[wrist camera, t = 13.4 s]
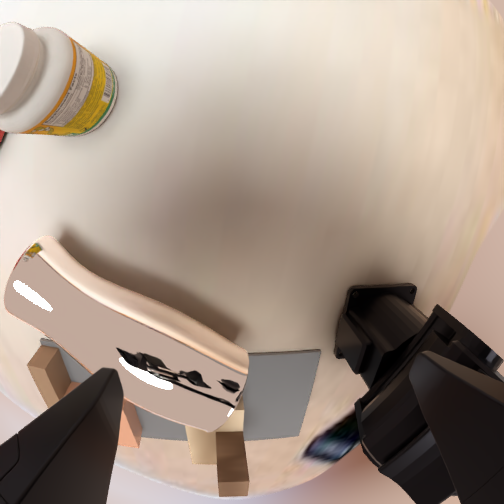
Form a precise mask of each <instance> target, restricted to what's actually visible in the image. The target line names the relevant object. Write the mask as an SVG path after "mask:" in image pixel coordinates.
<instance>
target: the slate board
mask: <svg viewBox="0 0 504 504" xmlns="http://www.w3.org/2000/svg"><path fill="white" fill-rule="evenodd" d="M40 342H41V346H40V348H39V349H38V350H37V352H36V353H35V355H34V356H33V357H32V359H31V360H30V361H29V363H28V364H27V366H28V368H29V371H30V373H31V375H32V377H33V379H34V381H35V383H36V385H37V387H38V389H39V391H40V393H41V395H42V397H43V399H44V401H45V403H46V404H47V406H48V408H50V407H51V406H53V405H54V404H55V403H56V402H58V401H59V400H60V399H62V398H63V397H64V395H65V393H66V391H67V389H68V387H69V385H70V383H71V381H72V382H78V383H82V382H84V381H85V380H86V379H88V378H89V377H90V376H91V374H90V373H89V372H88V371H87V370H86V369H84V368H83V367H82V366H81V365H80V364H79V363H78V362H77V361H75V360H74V359H73V358H72V357H71V356H70V355H69V354H68V353H66V352H65V351H64V350H63V349H62V348H61V347H60V346H58V345H57V344H56V343H55V342H53V341H52V340H47V339H42V338H41V340H40ZM320 354H321V351H320V350H308V351H294V352H277V353H251V354H248V356H249V372H248V378H247V382H246V385H245V388H244V391H243V394H242V396H243V404H244V422H243V436H244V441H249V440H265V439H276V438H286V437H294V436H299V433H300V429H301V426H302V423H303V419H304V416H305V412H306V409H307V405H308V402H309V398H310V394H311V391H312V387H313V383H314V379H315V375H316V371H317V367H318V363H319V358H320ZM134 406H135V409H136V412H137V415H138V418H139V421H140V424H141V426H142V434H141V437H146V438H156V439H167V440H182V441H188V439H187V434H186V428H185V425H182V424H179V423H176V422H173V421H170V420H167V419H164V418H162V417H159V416H157V415H155V414H152V413H150V412H148V411H145V410H144V409H142V408H140V407H138V406H136V405H134Z"/></svg>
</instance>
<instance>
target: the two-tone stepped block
mask: <svg viewBox="0 0 504 504" xmlns="http://www.w3.org/2000/svg"><path fill="white" fill-rule="evenodd" d="M243 422H244V404H243V396H241V398H240V401H239V403H238V405H237V406H236V408H235V410H234V411H233V413H232V414H231V416H230V417H229V418H228V420H227V421H226V422H225V423H224V424H223V425H222V426H221V427H220V428H218V429H217V430H215V431H213V432H204V431H202V430H199V429H196V428H192V427H189V426H185V428H186V434H187V439H188V444H189V449H190V454H191V459H192V463H193V464H217V474H218V488H219V497H227V496H247V495H248V488H249V474H248V467H247V459H246V452H245V444H244V436H243Z"/></svg>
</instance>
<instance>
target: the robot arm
mask: <svg viewBox="0 0 504 504" xmlns="http://www.w3.org/2000/svg"><path fill="white" fill-rule="evenodd" d="M411 289H412V290H411ZM410 290H411V291H410ZM356 291H357V292H356ZM416 291H417V287H416V286H415V285H413V284H395V285H373V286H353V287H351V288H350V289H349V290H348V293H347V298H346V303H345V308H344V313H343V314H342V315H341V318H340V323H339V327H338V332H337V336H336V340H335V342H336V347H335V351H334V354H335V356H336V358H338V359H343V358H345V359H346V360H347V362H348V364H349V366H350V367H351V369H352V371H353V372H354V373H355V374H360V375H361V377H362V378H363V380H364V382H365V383H366V385H367V387H368V388H369V391H368V392H367V393H366V394H365V395H364V396H363V397H362V398H359V399H358V400H357V401H356V402H355V403H354V405H355V411H356V417H357V423H358V429H359V435H360V442H361V446H362V449H363V452H364V454H365V455H366V456H367V457H368V458H369V460H370V461H371V462H372V463H373V464H374V465H375V466H377V467H378V471H379V472H380V473H382V474H383V475H385V476H387V477H389V478H391V479H392V480H393V481H394V482H396V483H397V484H398V485H399V486H401V487H402V489H403V490H404V491H405V492H406V493H407V494H408V495H409V496H410V497H411V499H412V500H413V501H414V502H415V503H416V504H440V503H442V502H443V501H444V500H446V499H447V498H449V497H450V496H458V498H459V500H460V503H461V504H504V377H503V376H502V375H501V374H500V373H499V372H498V371H497V369H498V368H499V367H500V365H501V364H502V363H503V359H502V358H501V357H500V356H498V355H497V354H496V353H495V352H494V351H493V350H492V349H491V348H490V347H489V346H487V345H486V344H485V343H484V342H483V341H482V340H481V339H479V338H478V337H477V336H476V335H475V334H474V333H472V332H471V331H470V330H469V329H467V328H466V327H465V326H464V325H463V324H462V323H460V322H459V321H458V320H457V319H455V318H454V317H453V316H451V314H449V313H448V312H447V311H445V310H444V309H443V308H442V307H440V306H439V305H438V304H437V305H436V306H435V308H434V309H433V310H432V311H433V313H432V314H431V316H430V317H429V318H428V317H426V316H425V315H424V314H423V313H422V312H421V311H420V310H419V309H417V308H416V307H415V306H414V305H413V302H414V299H415V295H416ZM354 292H356V294H355V295H353V293H354ZM340 352H341V353H340ZM339 353H340V354H339ZM123 399H124V391H123V387H122V384H121V381H120V377H119V374H118V371H117V370H116V369H114V368H107V367H103V368H101V369H99V370H98V371H97V372H95V373H94V374H93V375H91V376H90V377H89V378H88V379H86V380H85V381H84V382H82V383H81V384H80V385H78V386H77V387H76V388H75V389H73V390H72V391H71V392H69V393H68V394H67V395H65V396H64V397H63V398H62V399H60V400H59V401H58V402H56V403H55V404H54V405H53V406H51V407H50V408H49V409H47V410H46V411H45V412H43V413H42V414H41V415H40V416H38V417H37V418H36V419H34V420H33V421H32V422H31V423H29V424H28V425H27V426H25V427H24V428H23V429H21V430H20V431H19V432H18V434H15V435H14V436H12V437H11V438H10V439H8V440H7V441H6V442H4V443H3V444H1V445H0V504H106V501H107V495H108V490H109V485H110V479H111V474H112V469H113V465H114V460H115V455H116V451H117V446H118V440H119V431H120V422H121V414H122V406H123Z"/></svg>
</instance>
